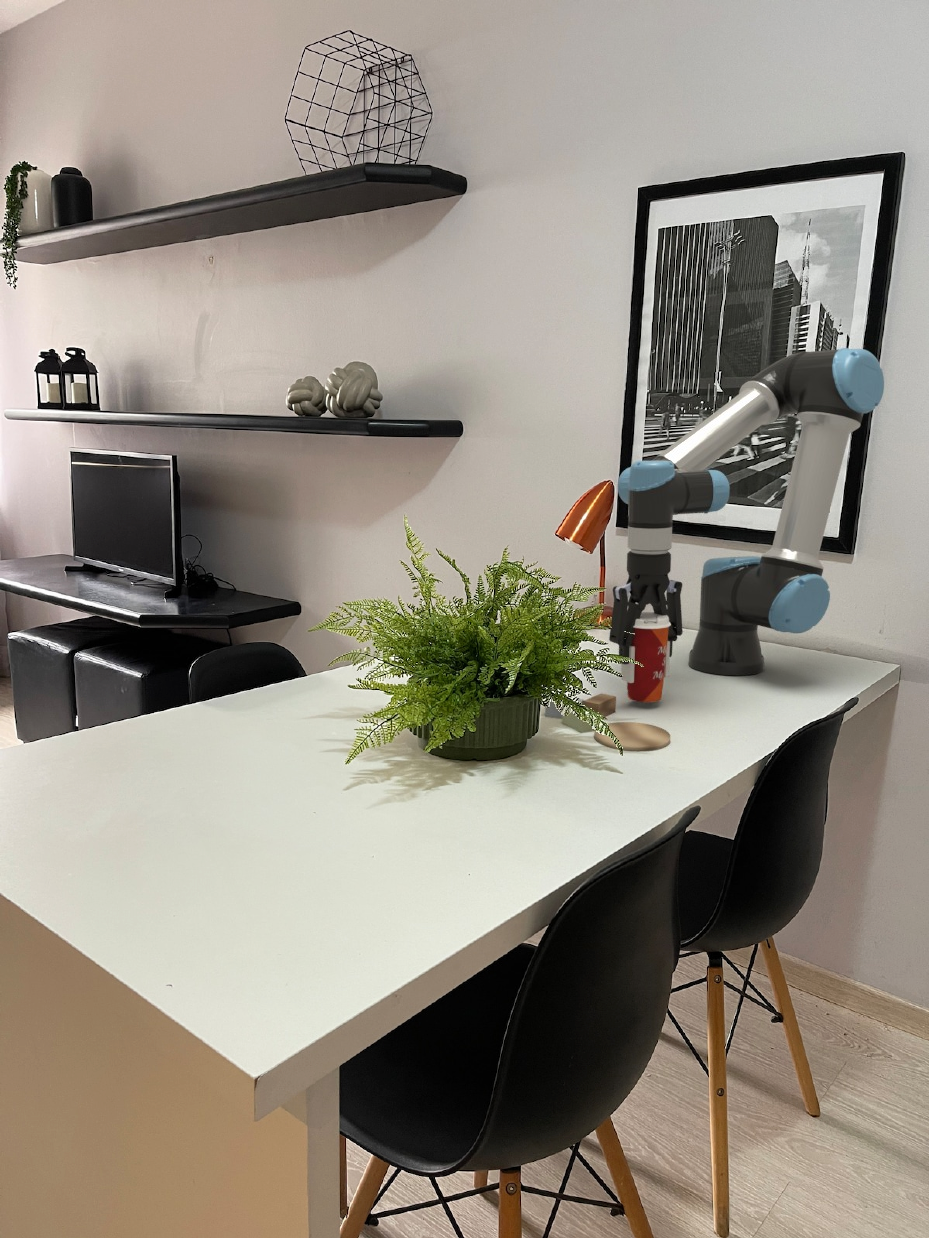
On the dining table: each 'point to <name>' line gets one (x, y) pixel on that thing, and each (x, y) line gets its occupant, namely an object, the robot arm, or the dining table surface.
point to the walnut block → (602, 704)
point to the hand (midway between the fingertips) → (645, 677)
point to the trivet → (635, 736)
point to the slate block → (554, 712)
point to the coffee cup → (649, 657)
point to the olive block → (576, 723)
